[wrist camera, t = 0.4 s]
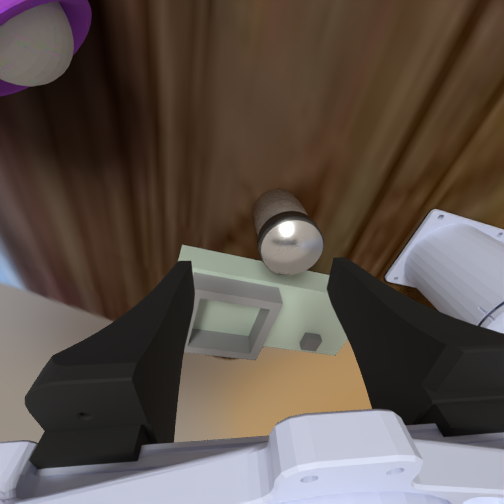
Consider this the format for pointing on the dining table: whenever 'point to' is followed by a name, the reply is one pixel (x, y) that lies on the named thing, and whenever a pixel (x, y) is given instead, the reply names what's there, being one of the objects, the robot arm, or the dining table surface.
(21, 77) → the toy camera
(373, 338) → the robot arm
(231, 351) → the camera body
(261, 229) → the lens
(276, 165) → the dining table surface
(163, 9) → the dining table surface
